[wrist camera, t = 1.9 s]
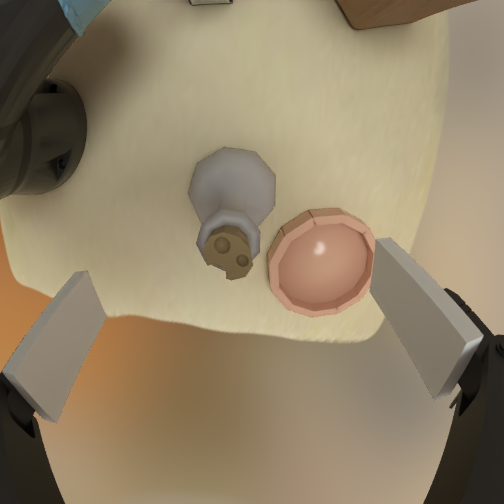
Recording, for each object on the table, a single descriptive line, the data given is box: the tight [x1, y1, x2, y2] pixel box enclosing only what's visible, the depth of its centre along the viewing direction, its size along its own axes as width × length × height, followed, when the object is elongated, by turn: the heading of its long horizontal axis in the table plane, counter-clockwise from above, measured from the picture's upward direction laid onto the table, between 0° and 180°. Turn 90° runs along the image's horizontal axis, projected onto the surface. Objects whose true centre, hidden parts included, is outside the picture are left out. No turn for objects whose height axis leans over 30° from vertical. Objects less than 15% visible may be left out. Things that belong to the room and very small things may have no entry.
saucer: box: [267, 208, 376, 317], centre depth 34 cm, size 14×14×2 cm
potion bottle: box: [188, 147, 276, 280], centre depth 22 cm, size 9×9×18 cm
